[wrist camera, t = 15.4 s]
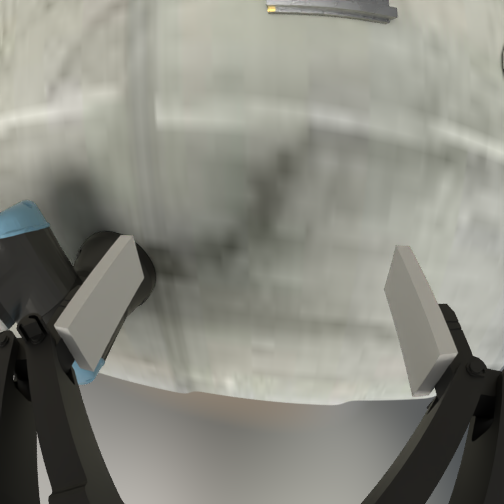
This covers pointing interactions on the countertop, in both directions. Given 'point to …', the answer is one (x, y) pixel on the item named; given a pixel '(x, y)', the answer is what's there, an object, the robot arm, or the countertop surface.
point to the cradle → (336, 9)
